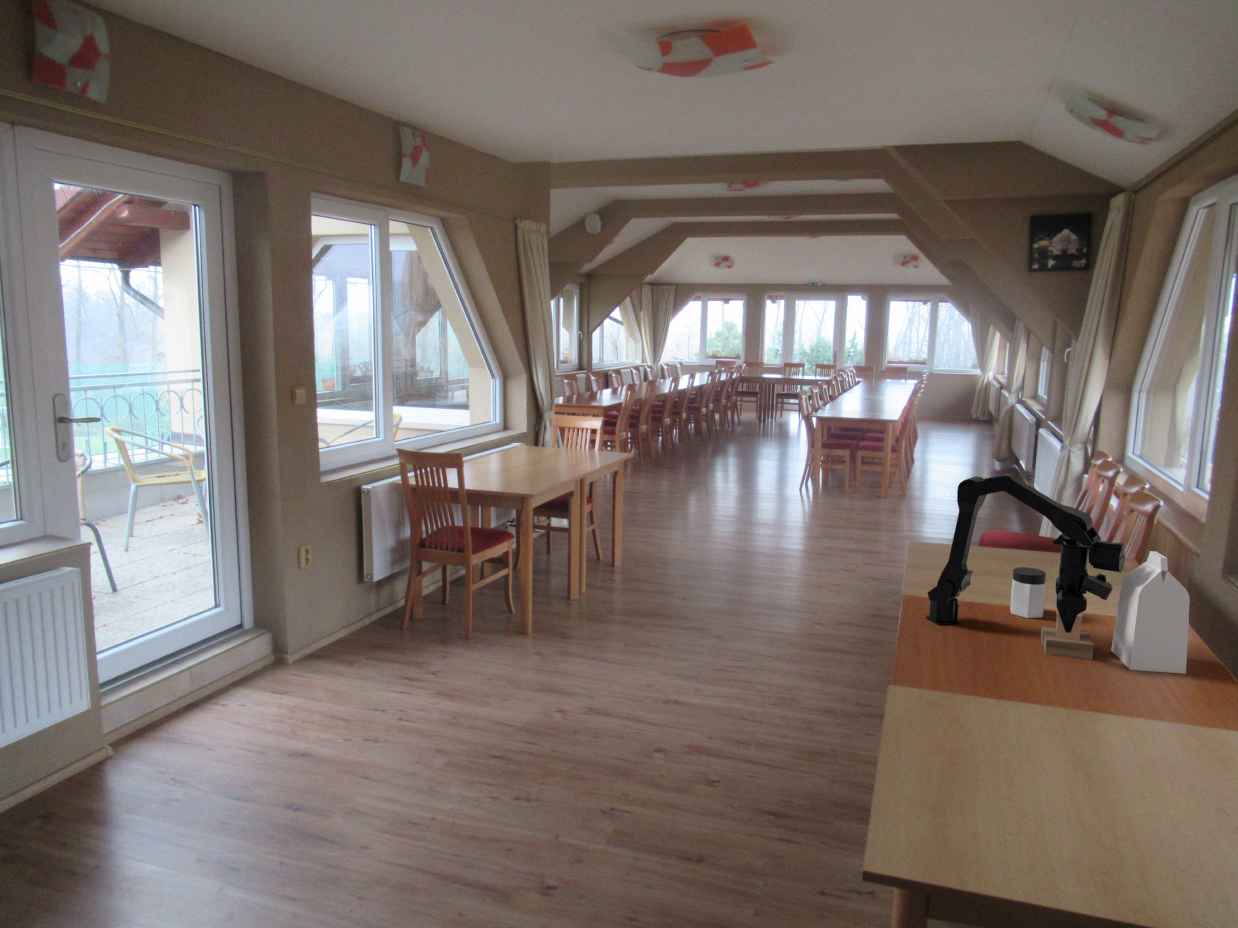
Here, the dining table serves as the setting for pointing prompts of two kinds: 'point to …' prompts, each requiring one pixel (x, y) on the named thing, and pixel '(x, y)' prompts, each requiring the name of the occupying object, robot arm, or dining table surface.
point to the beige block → (1066, 644)
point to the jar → (1028, 592)
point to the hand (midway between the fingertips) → (1067, 626)
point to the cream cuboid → (1074, 632)
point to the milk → (1152, 619)
